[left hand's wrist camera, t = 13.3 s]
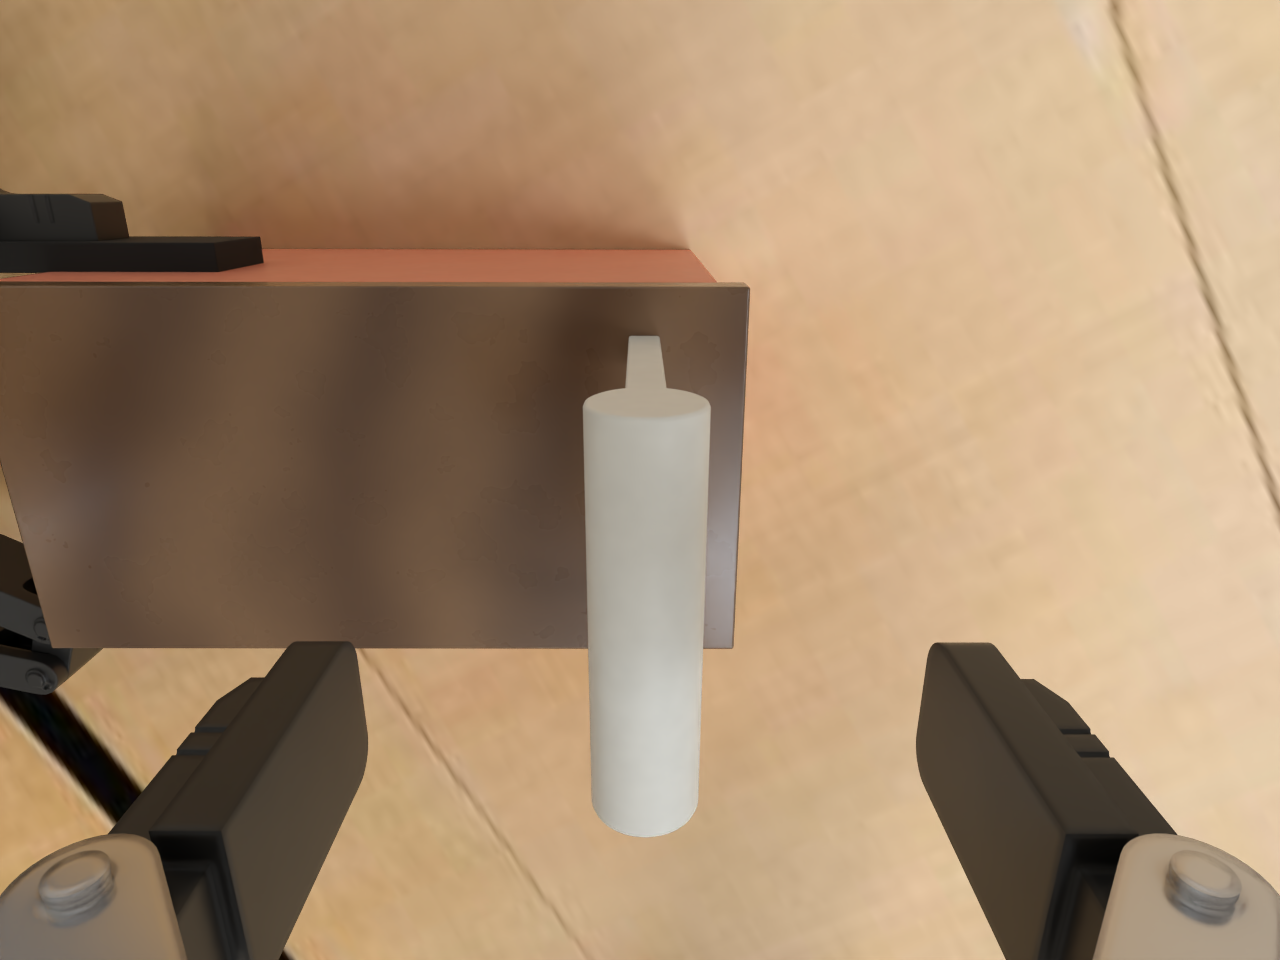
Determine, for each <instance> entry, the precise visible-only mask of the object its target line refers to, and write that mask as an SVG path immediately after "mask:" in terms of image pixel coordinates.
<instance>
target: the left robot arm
mask: <svg viewBox="0 0 1280 960" xmlns="http://www.w3.org/2000/svg"><path fill="white" fill-rule="evenodd" d="M367 753H368V733H367V725H366V718H365V711H364V704H363V696H362V689H361V682H360V675H359V667H358V660H357V654H356V651H355V648H354V646H353V644H352V643H351V642H349V641H295V642H293V643H291V644H290V645H289V646H288V648H287V649H286V650H285V651H284V653H283V654H282V655H281V657H280V658H279V659H278V661H277V662H276V663H275V665H274V666H273V667H272V669H271V670H270V671H269V673H268V674H267V675H266V676H265V678H250V679H248V680H247V681H245V682H244V683H242V684H241V685H239V686H238V687H236V688H235V689H233V690H232V691H230V692H229V693H227V694H226V695H225V696H223V697H222V698H220V699H219V700H217V701H216V702H215V704H214V705H213V706H212V707H211V709H210V710H209V711H208V712H207V713H206V715H205V716H204V717H203V718H202V720H201V721H200V722H199V723H198V724H197V726H196V727H195V732H194V733H190V734H189V735H188V737H187V738H186V739H185V740H184V742H183V743H182V744H181V745H180V747H179V748H178V749H177V754H176V755H172V756H171V758H170V759H169V760H168V761H167V762H166V764H165V765H164V766H163V767H162V769H161V770H160V771H159V772H158V773H157V775H156V776H155V777H154V778H153V780H152V781H151V782H150V783H149V784H148V786H147V787H146V788H145V789H144V791H143V792H142V793H141V794H140V795H139V797H138V798H137V799H136V800H135V802H134V803H133V804H132V805H131V806H130V808H129V809H128V810H127V811H126V813H125V814H124V815H123V816H122V817H121V819H120V820H119V821H118V822H117V824H116V825H115V826H114V827H113V828H112V830H111V831H110V832H109V833H108V835H101V836H97V837H92V838H88V839H85V840H82V841H79V842H76V843H73V844H71V845H68V846H66V847H64V848H62V849H59V850H57V851H55V852H54V853H52V854H50V855H48V856H46V857H44V858H43V859H41V860H40V861H38V862H37V863H35V864H33V865H32V866H31V867H29V868H28V869H27V870H25V871H24V872H23V873H22V874H20V875H19V876H18V877H17V878H16V879H15V880H14V881H13V882H12V883H11V884H10V885H9V886H8V887H7V888H6V889H5V891H4V892H3V893H2V894H1V896H0V960H278V959H279V957H280V955H281V953H282V951H283V949H284V947H285V944H286V942H287V940H288V938H289V936H290V934H291V932H292V929H293V927H294V925H295V923H296V921H297V919H298V917H299V914H300V912H301V910H302V908H303V906H304V904H305V901H306V899H307V897H308V895H309V893H310V891H311V889H312V886H313V884H314V882H315V880H316V878H317V876H318V874H319V871H320V869H321V867H322V865H323V863H324V861H325V859H326V856H327V854H328V852H329V850H330V848H331V846H332V843H333V841H334V839H335V837H336V835H337V833H338V831H339V828H340V826H341V824H342V822H343V820H344V818H345V816H346V813H347V811H348V809H349V807H350V805H351V803H352V801H353V798H354V796H355V794H356V792H357V790H358V788H359V785H360V783H361V781H362V778H363V775H364V771H365V767H366V762H367ZM916 753H917V762H918V768H919V772H920V776H921V779H922V782H923V784H924V787H925V789H926V791H927V793H928V795H929V797H930V799H931V802H932V804H933V806H934V808H935V810H936V812H937V814H938V816H939V818H940V821H941V823H942V825H943V827H944V829H945V831H946V833H947V835H948V838H949V840H950V842H951V844H952V846H953V848H954V850H955V852H956V855H957V857H958V859H959V861H960V863H961V865H962V867H963V869H964V872H965V874H966V876H967V878H968V880H969V882H970V884H971V886H972V889H973V891H974V893H975V895H976V897H977V899H978V901H979V903H980V905H981V908H982V910H983V912H984V914H985V916H986V918H987V920H988V922H989V925H990V927H991V929H992V931H993V933H994V935H995V937H996V939H997V942H998V944H999V946H1000V948H1001V950H1002V952H1003V954H1004V956H1005V959H1006V960H1280V896H1279V894H1278V893H1277V892H1276V891H1275V889H1274V888H1273V887H1272V886H1271V885H1270V884H1269V883H1268V882H1267V881H1266V880H1265V879H1264V878H1263V877H1262V876H1261V875H1260V874H1258V873H1257V872H1256V871H1255V870H1253V869H1252V868H1251V867H1249V866H1248V865H1247V864H1245V863H1243V862H1242V861H1240V860H1239V859H1237V858H1236V857H1234V856H1232V855H1230V854H1228V853H1226V852H1225V851H1223V850H1221V849H1218V848H1216V847H1214V846H1212V845H1209V844H1207V843H1204V842H1201V841H1198V840H1195V839H1192V838H1188V837H1183V836H1179V835H1177V834H1176V832H1175V831H1174V830H1173V829H1172V828H1171V826H1170V825H1169V824H1168V823H1167V821H1166V820H1165V819H1164V818H1163V817H1162V815H1161V814H1160V813H1159V812H1158V811H1157V809H1156V808H1155V807H1154V806H1153V804H1152V803H1151V802H1150V801H1149V800H1148V798H1147V797H1146V796H1145V795H1144V794H1143V792H1142V791H1141V790H1140V789H1139V788H1138V786H1137V785H1136V784H1135V783H1134V781H1133V780H1132V779H1131V778H1130V777H1129V775H1128V774H1127V773H1126V772H1125V771H1124V769H1123V768H1122V767H1121V766H1120V764H1119V763H1118V762H1117V761H1116V760H1115V758H1110V756H1109V751H1108V750H1107V749H1106V748H1105V746H1104V745H1103V744H1102V743H1101V741H1100V740H1099V739H1098V738H1097V737H1096V735H1091V733H1090V728H1089V727H1088V726H1087V724H1086V723H1085V722H1084V721H1083V720H1082V718H1081V717H1080V716H1079V715H1078V714H1077V712H1076V711H1075V710H1074V709H1073V707H1072V706H1071V705H1070V704H1069V703H1068V702H1067V701H1066V700H1064V699H1063V698H1061V697H1060V696H1058V695H1057V694H1055V693H1054V692H1052V691H1051V690H1049V689H1048V688H1046V687H1045V686H1043V685H1042V684H1040V683H1039V682H1037V681H1036V680H1034V679H1020V678H1019V677H1018V675H1017V674H1016V673H1015V671H1014V670H1013V669H1012V667H1011V666H1010V665H1009V664H1008V662H1007V661H1006V660H1005V658H1004V657H1003V656H1002V654H1001V653H1000V652H999V651H998V649H997V648H996V647H995V646H994V645H993V644H991V643H934V644H933V645H932V646H931V648H930V650H929V653H928V658H927V664H926V671H925V678H924V685H923V693H922V700H921V707H920V714H919V721H918V728H917V736H916Z"/></svg>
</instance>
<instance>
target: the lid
mask: <svg viewBox="0 0 1280 960" xmlns="http://www.w3.org/2000/svg"><path fill="white" fill-rule="evenodd" d="M749 302H750V288H749V287H748V286H747V285H746V284H745V283H683V282H81V281H0V462H1V466H2V470H3V473H4V477H5V480H6V484H7V487H8V491H9V495H10V498H11V502H12V505H13V509H14V513H15V516H16V520H17V523H18V527H19V531H20V534H21V538H22V541H23V545H24V548H25V552H26V556H27V559H28V563H29V566H30V570H31V574H32V577H33V581H34V584H35V588H36V591H37V595H38V599H39V602H40V606H41V609H42V613H43V617H44V620H45V624H46V627H47V631H48V635H49V638H50V642H51V645H52V647H53V648H288V646H289V645H290V644H291V643H293V642H295V641H349V642H351V643H352V644H353V646H354V648H587V649H588V658H589V701H590V745H591V789H592V804H593V807H594V810H595V812H596V813H597V815H598V817H599V818H600V819H601V820H602V821H603V822H604V823H605V824H606V825H607V826H609V827H610V828H612V829H613V830H615V831H617V832H620V833H622V834H626V835H629V836H635V837H656V836H661V835H665V834H668V833H671V832H673V831H675V830H677V829H679V828H680V827H682V826H683V825H684V824H686V823H687V822H688V821H689V819H690V818H691V817H692V815H693V814H694V812H695V810H696V808H697V804H698V789H699V758H700V727H701V696H702V665H703V649H732V648H733V645H734V624H735V602H736V581H737V559H738V538H739V517H740V495H741V474H742V452H743V431H744V409H745V388H746V366H747V345H748V323H749Z"/></svg>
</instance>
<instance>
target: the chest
mask: <svg viewBox="0 0 1280 960" xmlns="http://www.w3.org/2000/svg"><path fill="white" fill-rule="evenodd" d="M262 253H263V260H264V263H261V264H256V265H251V266H247V267H242V268H237V269H232V270H227V271H222V272H45V273H38V274H31V275H24V276H17V277H10V278H3V279H0V281H81V282H683V283H717V282H716V280H715V279H714V278H713V277H712V276H711V274H710V273H709V272H708V271H707V269H706V268H705V267H704V266H703V264H702V263H701V262H700V261H699V260H698V258H697V257H696V256H695V255H694V253H693V252H692V251H691V250H573V249H262Z"/></svg>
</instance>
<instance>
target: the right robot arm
mask: <svg viewBox="0 0 1280 960" xmlns="http://www.w3.org/2000/svg"><path fill="white" fill-rule="evenodd" d="M261 263H264V260H263V253H262V246H261V240H260V237H129V234H128V229H127V224H126V219H125V214H124V209H123V204H122V202H121V201H119V200H116V199H114V198H111V197H109V196H106V195H104V194H14V193H9V192H7V191H4V190H2V189H0V273H45V272H222V271H227V270H232V269H237V268H242V267H247V266H251V265H256V264H261ZM102 649H103V648H53V647H52V645H51V642H50V638H49V635H48V631H47V627H46V624H45V620H44V617H43V613H42V609H41V606H40V602H39V599H38V595H37V591H36V588H35V584H34V581H33V577H32V574H31V570H30V566H29V563H28V559H27V556H26V552H25V548H24V545H23V543H21V542H18V541H16V540H14V539H11V538H9V537H7V536H4V535H2V534H0V687H5V688H10V689H15V690H20V691H25V692H30V693H35V694H48V693H51V692H53V691H54V690H55V689H56V688H58V687H59V686H60V685H61V684H62V683H63V682H65V681H66V680H67V679H68V678H69V677H71V676H72V675H73V674H74V673H75V672H76V671H78V670H79V669H80V668H81V667H82V666H83V665H85V664H86V663H87V662H88V661H89V660H90V659H92V658H93V657H94V656H95V655H96V654H97V653H98V652H100V651H101V650H102Z"/></svg>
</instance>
